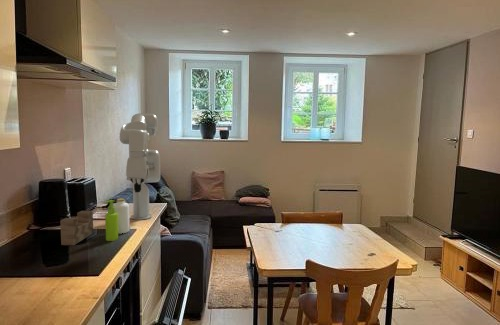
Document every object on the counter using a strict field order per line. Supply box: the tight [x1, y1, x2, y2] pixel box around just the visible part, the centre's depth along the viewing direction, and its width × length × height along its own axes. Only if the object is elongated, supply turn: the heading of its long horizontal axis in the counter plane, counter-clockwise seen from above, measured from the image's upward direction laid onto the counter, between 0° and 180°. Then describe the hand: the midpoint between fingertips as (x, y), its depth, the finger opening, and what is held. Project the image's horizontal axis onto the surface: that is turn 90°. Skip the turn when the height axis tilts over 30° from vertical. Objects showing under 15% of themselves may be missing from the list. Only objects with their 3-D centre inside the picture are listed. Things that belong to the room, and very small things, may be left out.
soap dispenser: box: [102, 199, 119, 242], centre depth 180 cm, size 6×7×20 cm
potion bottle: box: [113, 198, 130, 235], centre depth 193 cm, size 8×8×18 cm
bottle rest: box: [59, 210, 94, 246], centre depth 181 cm, size 20×6×12 cm, turn 178°
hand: (137, 191), depth 178 cm, fingers closed
